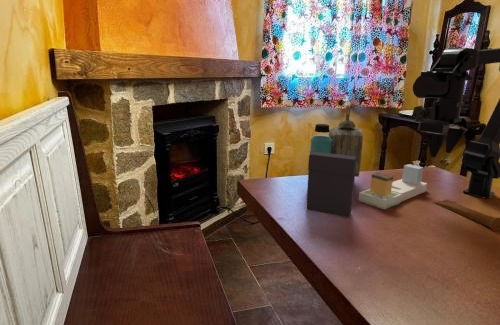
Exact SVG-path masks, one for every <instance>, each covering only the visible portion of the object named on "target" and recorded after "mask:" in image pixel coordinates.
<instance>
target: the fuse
mask: <svg viewBox="0 0 500 325" xmlns="http://www.w3.org/2000/svg"><path fill="white" fill-rule="evenodd" d="M423 173H424V167H423V166H418V165H415V164H410V163H409V164H404V165H403V170H402V175H401V176H402V178H401V179H402V182H406V183H410V184H414V185H418V184H420V183H421V182H422V180H423V179H422V178H423Z"/></svg>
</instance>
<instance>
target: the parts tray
mask: <svg viewBox="0 0 500 325" xmlns="http://www.w3.org/2000/svg"><path fill="white" fill-rule="evenodd" d="M358 201H359V202H360V203H363V204H367V205H370V206H373V207H375V208H379V209H380V210H384V211H385V210H388V209H390V208H392V207H395V206H397V205H400V204H401V203H402V201H401V194H398V193H394V192H391V194H389V195H387V196H385V200H384V199H381V198H378V197H375V193H373V192H370V188H368V189H366V190H362V191H360V192H358Z"/></svg>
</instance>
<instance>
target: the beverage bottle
mask: <svg viewBox="0 0 500 325" xmlns="http://www.w3.org/2000/svg"><path fill="white" fill-rule="evenodd" d="M329 130H330V125H329V124H328V123H327V124H326V123H317V124H315V127H314V132H316V133H329ZM331 147H332V139H331V138H330V137H329V135H327V134H314V135H313V136H312V137H311V138H310V149H309V155H310V154H311V153H313V152H321V153H330V154H331ZM309 155H308V156H309ZM308 174H309V171H308ZM308 174H307V175H308Z"/></svg>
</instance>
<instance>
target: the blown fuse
mask: <svg viewBox="0 0 500 325" xmlns="http://www.w3.org/2000/svg"><path fill="white" fill-rule="evenodd" d="M393 180H394V176H393V175H388V174H385V173H382V172H376V173H371V180H370V188H369V189H370V192H373V193H375V197H378V198H381V199H384V200H385V196H387V195H389V194H391V189H392V182H394V181H393Z"/></svg>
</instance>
